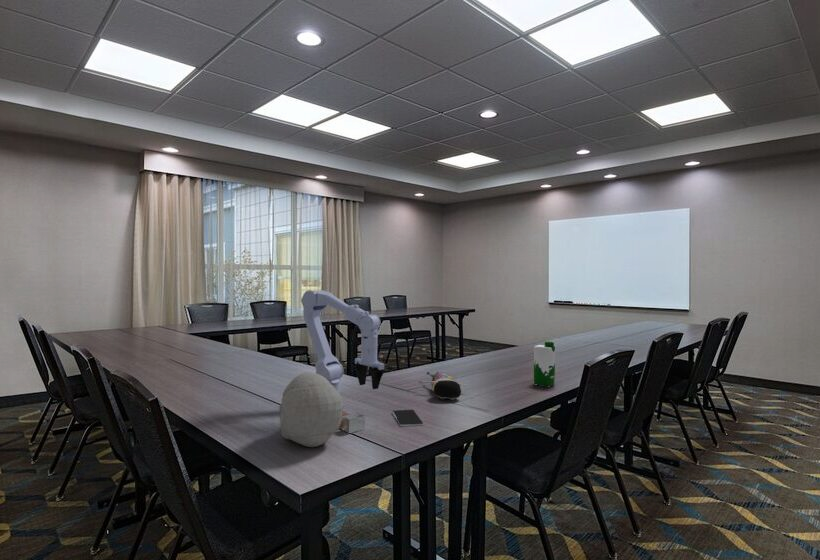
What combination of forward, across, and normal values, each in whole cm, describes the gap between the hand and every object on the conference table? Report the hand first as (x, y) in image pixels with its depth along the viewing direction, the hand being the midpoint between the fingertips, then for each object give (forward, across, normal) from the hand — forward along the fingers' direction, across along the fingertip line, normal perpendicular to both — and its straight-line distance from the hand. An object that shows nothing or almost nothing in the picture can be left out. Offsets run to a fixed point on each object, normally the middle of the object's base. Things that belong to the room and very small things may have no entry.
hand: (368, 386), depth 155 cm
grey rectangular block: (+10, +10, -14) cm, 20 cm away
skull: (+10, +7, -29) cm, 31 cm away
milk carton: (+10, +19, +88) cm, 91 cm away
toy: (+10, -2, +42) cm, 43 cm away
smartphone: (+10, +14, +6) cm, 18 cm away
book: (+10, 0, -14) cm, 17 cm away
